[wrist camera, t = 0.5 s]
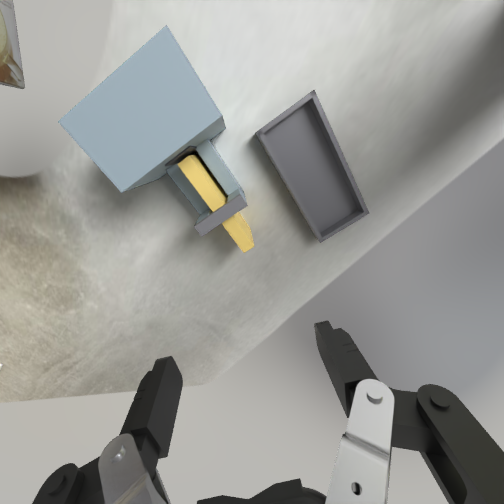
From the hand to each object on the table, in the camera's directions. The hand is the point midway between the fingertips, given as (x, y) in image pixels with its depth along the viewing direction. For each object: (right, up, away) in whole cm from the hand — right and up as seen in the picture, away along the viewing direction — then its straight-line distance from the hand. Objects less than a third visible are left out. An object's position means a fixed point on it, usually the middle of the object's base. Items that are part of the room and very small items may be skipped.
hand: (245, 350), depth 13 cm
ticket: (-3, +12, +17) cm, 21 cm away
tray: (+8, +15, +16) cm, 24 cm away
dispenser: (-7, +16, +14) cm, 23 cm away
